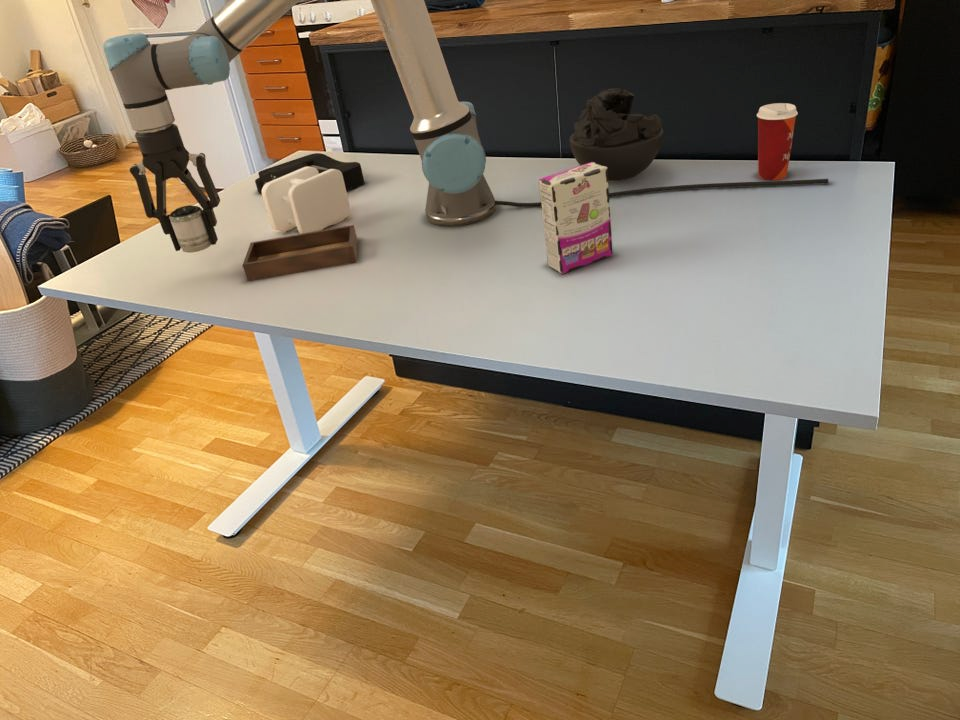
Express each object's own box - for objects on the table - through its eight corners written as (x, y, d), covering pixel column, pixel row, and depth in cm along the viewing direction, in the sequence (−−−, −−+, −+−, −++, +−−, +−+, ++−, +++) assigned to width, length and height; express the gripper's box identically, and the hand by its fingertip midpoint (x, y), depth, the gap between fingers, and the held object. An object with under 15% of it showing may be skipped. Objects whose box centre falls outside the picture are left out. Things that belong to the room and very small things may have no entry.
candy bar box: (597, 247, 137) (592, 160, 129) (613, 256, 133) (609, 166, 125) (545, 266, 134) (537, 177, 125) (560, 275, 130) (553, 184, 121)
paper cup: (797, 179, 152) (804, 109, 145) (759, 184, 153) (763, 114, 146) (784, 167, 159) (790, 100, 152) (748, 172, 160) (751, 105, 152)
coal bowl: (646, 158, 176) (644, 75, 166) (676, 184, 159) (677, 93, 149) (563, 173, 175) (557, 90, 165) (585, 201, 158) (579, 110, 148)
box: (357, 240, 157) (353, 224, 155) (356, 262, 147) (352, 245, 145) (255, 257, 156) (250, 242, 154) (247, 281, 146) (242, 265, 144)
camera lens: (185, 256, 144) (171, 218, 139) (178, 247, 148) (164, 210, 144) (217, 246, 146) (204, 208, 142) (209, 237, 151) (196, 200, 147)
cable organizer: (302, 242, 160) (287, 190, 154) (272, 235, 166) (257, 184, 160) (353, 216, 169) (341, 166, 163) (323, 210, 175) (310, 162, 169)
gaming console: (254, 192, 195) (246, 165, 191) (318, 169, 205) (311, 143, 202) (306, 210, 177) (299, 181, 173) (373, 184, 187) (367, 156, 184)
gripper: (211, 114, 138) (248, 229, 151) (107, 131, 138) (152, 246, 150) (204, 123, 132) (242, 244, 144) (95, 141, 131) (143, 261, 143)
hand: (197, 244), depth 147 cm, fingers closed on camera lens, 6 cm apart
